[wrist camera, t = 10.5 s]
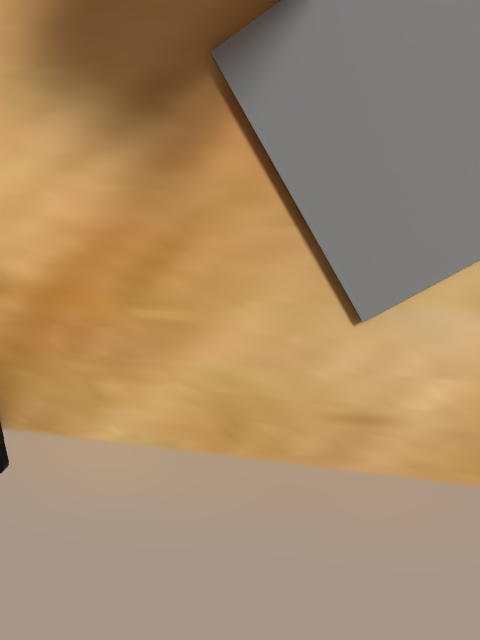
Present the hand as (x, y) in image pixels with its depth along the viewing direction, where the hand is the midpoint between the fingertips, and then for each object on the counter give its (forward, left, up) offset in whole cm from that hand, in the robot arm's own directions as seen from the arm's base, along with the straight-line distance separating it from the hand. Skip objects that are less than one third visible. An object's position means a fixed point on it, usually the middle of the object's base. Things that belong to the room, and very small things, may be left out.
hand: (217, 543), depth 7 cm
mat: (+7, +8, -13) cm, 17 cm away
